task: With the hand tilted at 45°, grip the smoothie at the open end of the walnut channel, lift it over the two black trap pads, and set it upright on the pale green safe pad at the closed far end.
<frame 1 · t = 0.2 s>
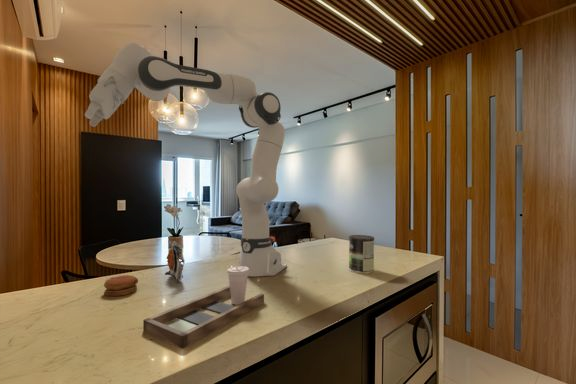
hand: (89, 121, 84), 54 cm above the kitchen island, tool tilted 30°, fingers open, 8 cm apart
smoothie: (237, 302, 80), resting in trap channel
coffee can: (361, 270, 115), on the kitchen island
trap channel: (210, 315, 71), on the kitchen island
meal: (173, 278, 103), on the kitchen island
burger: (120, 292, 88), on the kitchen island
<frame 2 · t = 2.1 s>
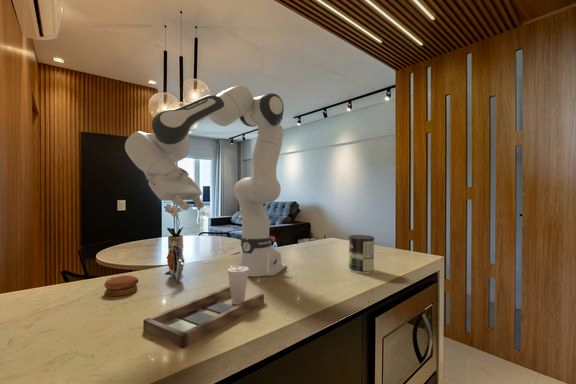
hand: (194, 208, 83), 27 cm above the kitchen island, tool tilted 45°, fingers open, 8 cm apart
nothing on the kitchen island moved.
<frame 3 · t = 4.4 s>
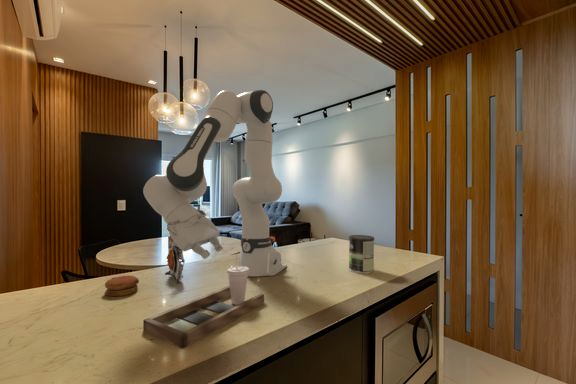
hand: (214, 253, 81), 14 cm above the kitchen island, tool tilted 45°, fingers open, 8 cm apart
nothing on the kitchen island moved.
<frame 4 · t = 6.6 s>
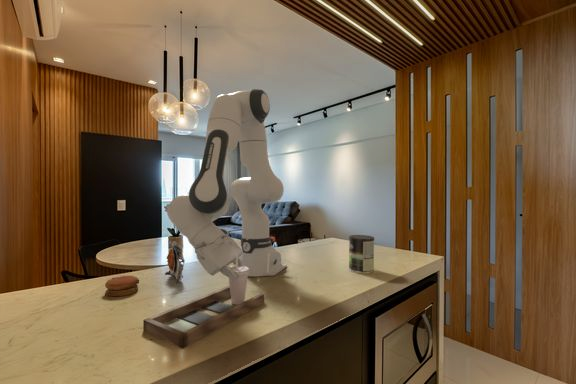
hand: (240, 275, 80), 8 cm above the kitchen island, tool tilted 45°, fingers closed on smoothie, 6 cm apart
smoothie: (237, 302, 80), resting in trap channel, touching gripper
everything else where it was.
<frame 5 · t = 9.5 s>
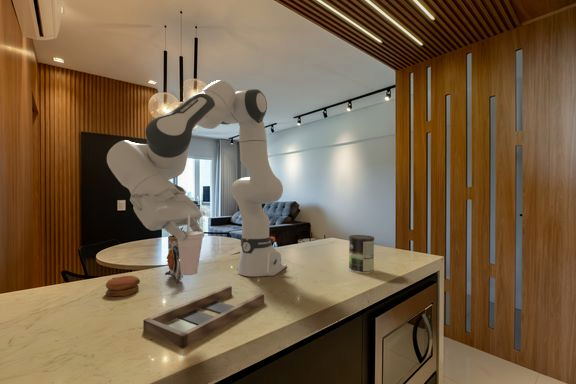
hand: (192, 236, 66), 21 cm above the kitchen island, tool tilted 45°, fingers closed on smoothie, 6 cm apart
smoothie: (189, 274, 66), point 12 cm above the kitchen island, touching gripper
everything else where it was.
when the fingers open (9 cm above the kitchen island, at t = 12.4 s): smoothie stays where it is, resting on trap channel.
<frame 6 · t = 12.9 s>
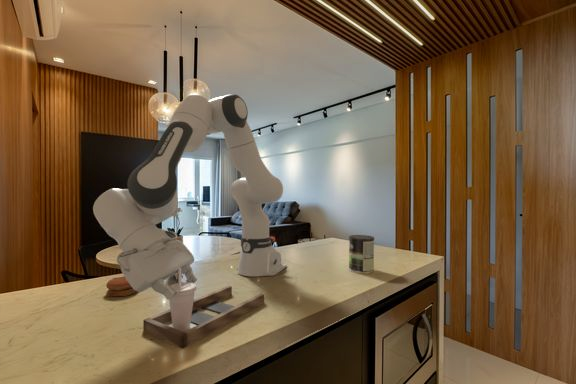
hand: (184, 289, 64), 9 cm above the kitchen island, tool tilted 45°, fingers open, 8 cm apart
smoothie: (181, 329, 64), resting on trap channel
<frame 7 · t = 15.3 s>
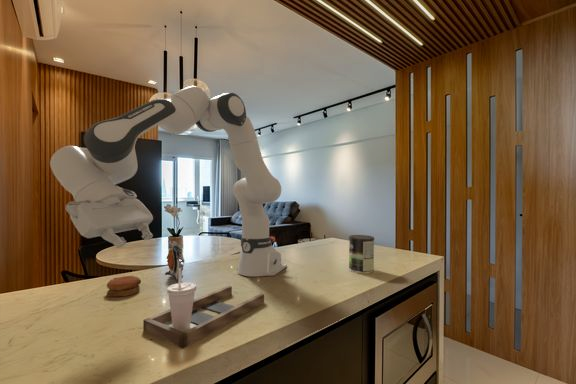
hand: (137, 241, 66), 20 cm above the kitchen island, tool tilted 45°, fingers open, 8 cm apart
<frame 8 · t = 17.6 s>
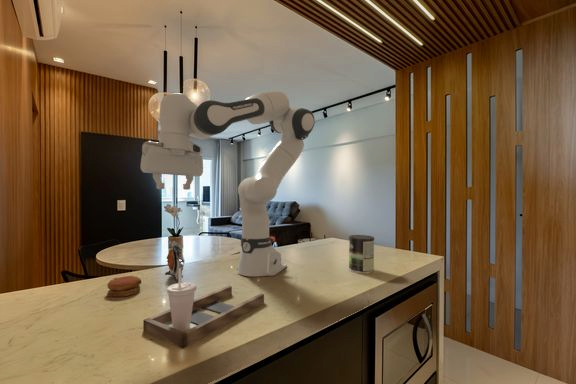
hand: (174, 189, 86), 33 cm above the kitchen island, tool pointing down, fingers open, 8 cm apart
at the end: smoothie inside the target area on the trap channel (0.0 cm from its centre), point 0.1 cm above the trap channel's base; smoothie tilted 0°; the gripper is holding nothing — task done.
